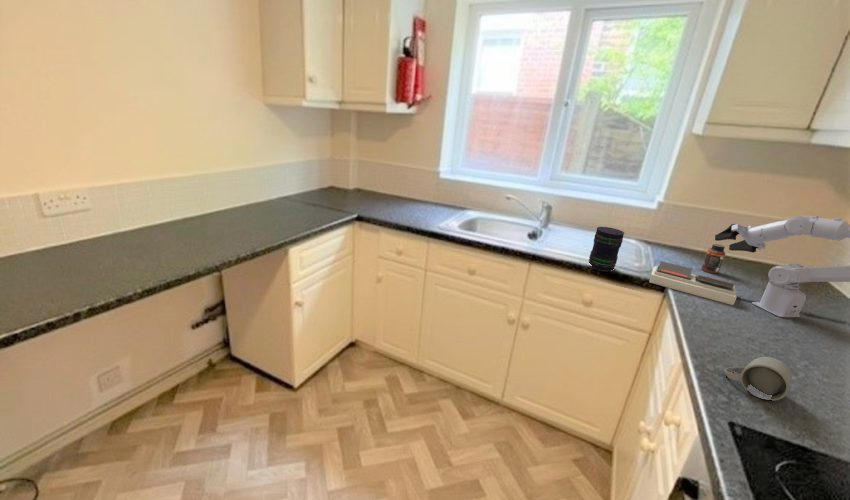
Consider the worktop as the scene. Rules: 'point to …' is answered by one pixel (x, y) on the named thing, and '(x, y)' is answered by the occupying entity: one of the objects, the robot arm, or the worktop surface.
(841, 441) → the worktop surface
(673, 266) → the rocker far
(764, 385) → the ceramic mug
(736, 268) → the worktop surface
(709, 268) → the supplement bottle
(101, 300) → the worktop surface
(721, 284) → the rocker near
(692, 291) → the rocker switch panel
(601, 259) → the storage jar
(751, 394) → the worktop surface
